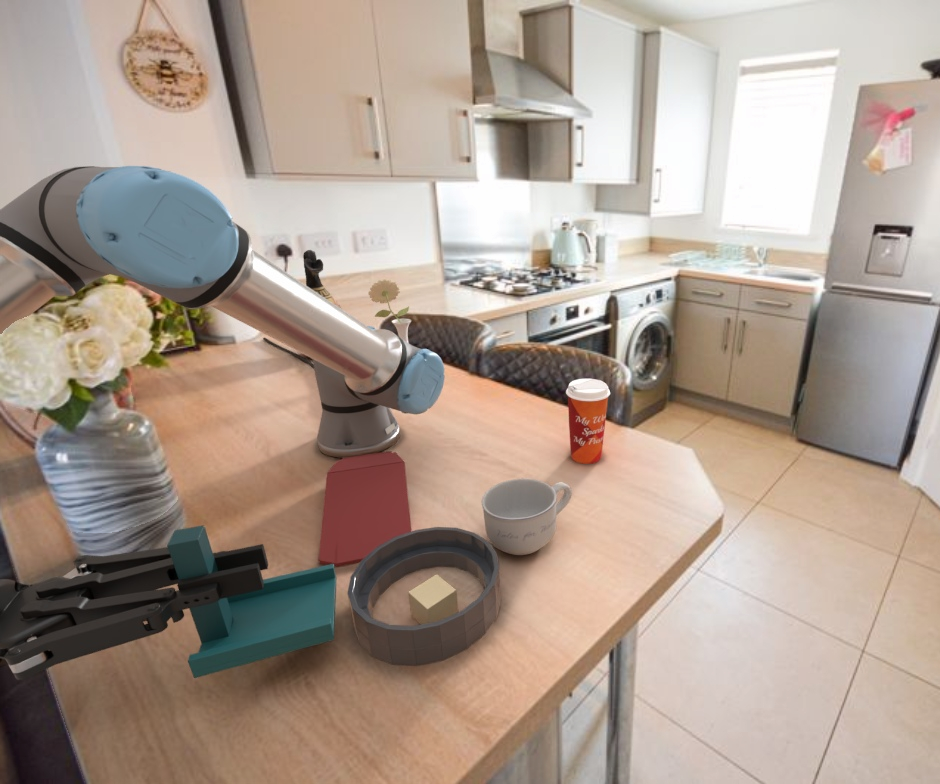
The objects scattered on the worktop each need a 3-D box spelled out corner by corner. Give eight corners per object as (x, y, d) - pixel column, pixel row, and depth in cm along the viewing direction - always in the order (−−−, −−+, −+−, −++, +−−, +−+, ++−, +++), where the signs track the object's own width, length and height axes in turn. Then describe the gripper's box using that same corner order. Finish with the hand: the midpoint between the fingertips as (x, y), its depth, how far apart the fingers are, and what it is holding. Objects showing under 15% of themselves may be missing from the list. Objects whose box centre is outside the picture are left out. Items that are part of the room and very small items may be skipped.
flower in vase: (428, 360, 150) (419, 274, 140) (428, 374, 140) (418, 282, 130) (380, 364, 146) (368, 275, 137) (377, 377, 136) (363, 283, 127)
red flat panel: (416, 571, 75) (405, 466, 95) (412, 548, 72) (402, 444, 92) (324, 591, 71) (333, 477, 91) (317, 567, 68) (328, 455, 88)
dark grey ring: (328, 616, 62) (319, 578, 60) (444, 545, 75) (440, 511, 73) (411, 700, 53) (405, 658, 50) (528, 602, 65) (527, 565, 63)
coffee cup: (576, 470, 95) (578, 396, 89) (558, 451, 102) (558, 381, 96) (615, 461, 99) (619, 389, 93) (595, 442, 106) (597, 374, 100)
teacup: (494, 574, 70) (491, 526, 67) (477, 527, 79) (474, 483, 76) (587, 548, 75) (589, 503, 72) (561, 508, 84) (561, 466, 81)
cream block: (458, 615, 63) (430, 635, 60) (439, 598, 65) (411, 617, 62) (456, 589, 61) (427, 609, 58) (436, 573, 63) (407, 591, 61)
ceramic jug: (357, 357, 151) (341, 253, 140) (299, 366, 143) (277, 256, 131) (345, 342, 164) (330, 246, 152) (291, 350, 156) (270, 248, 144)
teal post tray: (193, 678, 49) (153, 571, 44) (216, 606, 57) (184, 509, 52) (334, 640, 53) (311, 538, 48) (336, 578, 62) (317, 486, 57)
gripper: (15, 603, 52) (279, 548, 60) (-99, 748, 39) (259, 652, 47) (-16, 543, 49) (266, 495, 58) (-151, 678, 36) (240, 589, 45)
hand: (262, 566), depth 52 cm, fingers closed on teal post tray, 2 cm apart
